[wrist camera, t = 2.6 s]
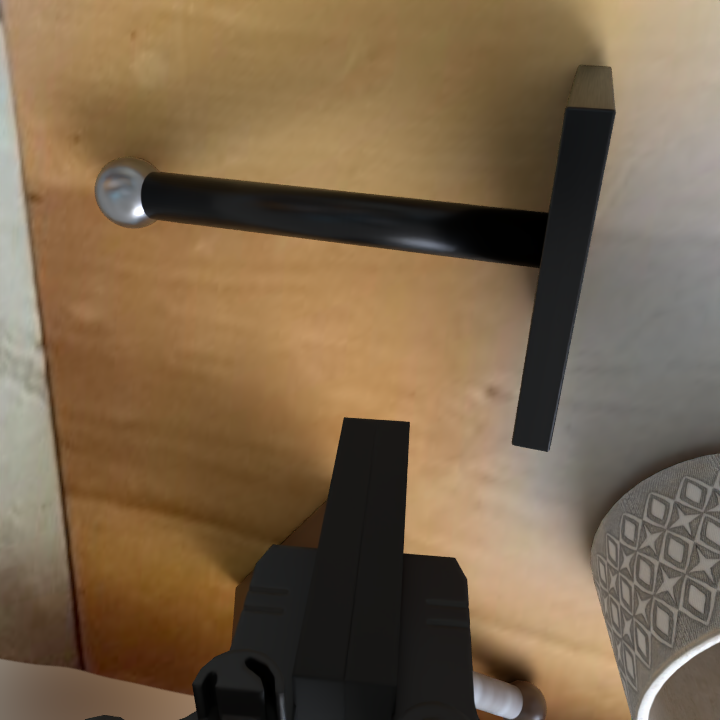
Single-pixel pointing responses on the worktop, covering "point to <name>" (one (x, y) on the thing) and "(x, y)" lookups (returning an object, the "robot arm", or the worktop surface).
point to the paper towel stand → (509, 701)
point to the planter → (665, 591)
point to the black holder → (422, 230)
